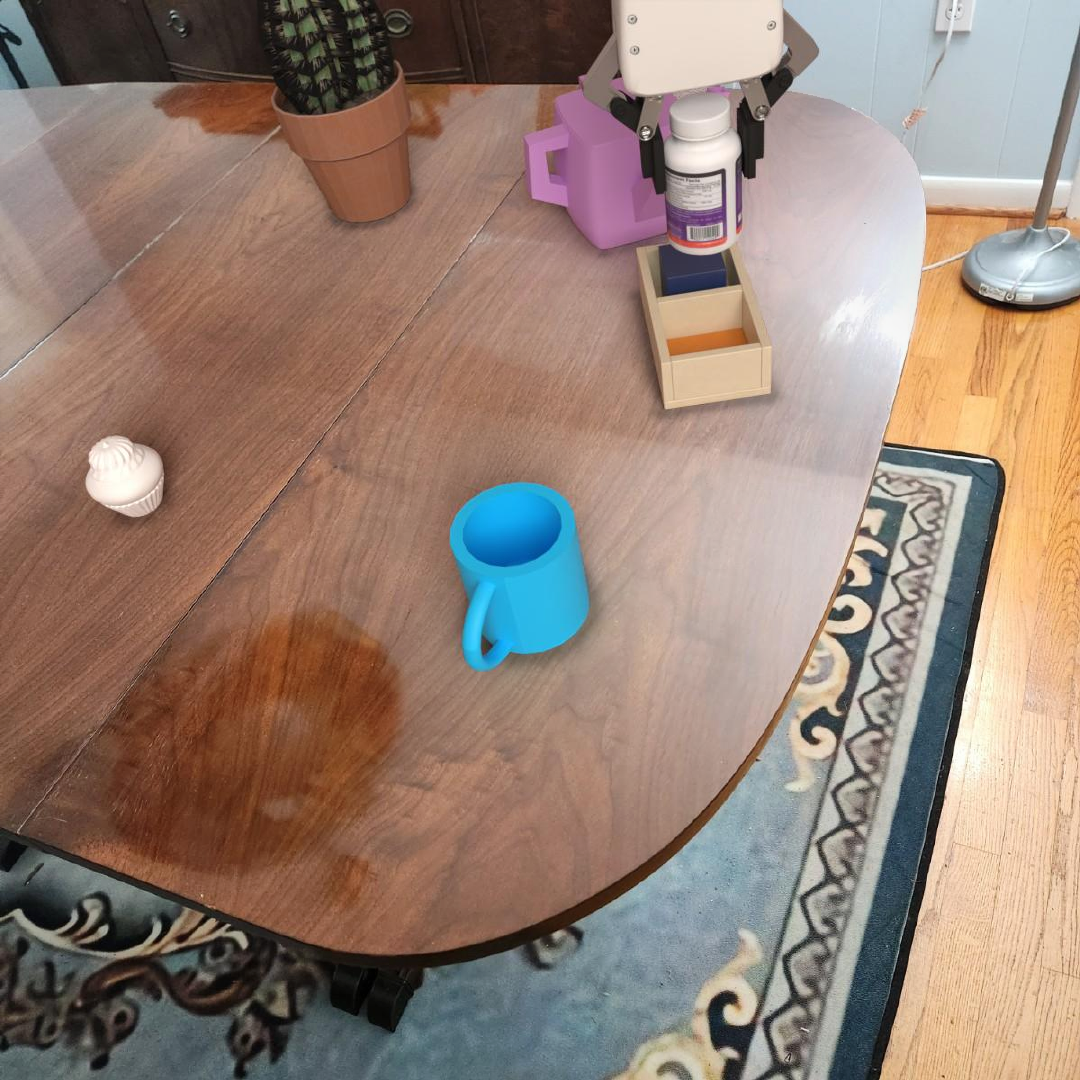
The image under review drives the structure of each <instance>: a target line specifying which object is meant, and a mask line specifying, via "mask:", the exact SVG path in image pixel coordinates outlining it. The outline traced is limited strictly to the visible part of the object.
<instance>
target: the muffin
mask: <svg viewBox="0 0 1080 1080" xmlns="http://www.w3.org/2000/svg"><path fill="white" fill-rule="evenodd" d="M87 457H88V463H89V469H88V471H87V474H86V476H85V488H86V491H87V493H88V495H89V496H90V497H91V498H92V500H95V502H98V503H100V504H101V505H103V506H105V507H106V508H107V509H110V510H113V511H115V512H117V513H119V514H122V515H124V516H128V517H131V518H141V517H144V516H147V515H149V514H151V513H152V512H154V511H156V509H158V507H159V506H160V504H162V501H163V492H164V483H165V482H164V480H165V478H164V477H165V472H164V464H163V460H162V458H161V455H160V453H158V452H157V451H156V450H155V449H153V448H152V447H151V446H148V445H145V444H141V443H136V442H135V443H134V442H133V441H131V439H129V438H128V437H125V436H122V435H117V434H115V435H108V436H106V437H105V438H101V439H100V441H96V442H95V445H92V447H91V448H90V451H89V452H88V456H87Z"/></svg>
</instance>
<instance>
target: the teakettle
mask: <svg viewBox="0 0 1080 1080" xmlns="http://www.w3.org/2000/svg"><path fill="white" fill-rule="evenodd" d="M585 76H586V74H582V75H580V76H579V75H578V86H579V89H576V90H573V91H570V92H566V93H563V94H560V95H558V96H557V97H556V98H555V100H554V106H553V125H552V126H550V127H547V128H544V129H541V130H538V131H534V132H531V133H528V134H525V135H523V136H522V137H523V155H524V167H525V184H526V189H527V191H528V193H529V195H530V197H531V199H533V200H537V201H541V202H545V203H550V204H553V205H558V206H562V207H565V209H566V212H567V213H568V215H569V217H570V219H571V221H572V222H573V224H574V226H575V227H576V228H577V229H578V231H579V232H580V233H581V234H582V235H583V237H584V238H585V239H586V240H587V241H588V242H589V243H590V244H591V245H592V246H593V247H595V248H596V249H598V250H604V251H605V250H611V249H614V248H618V247H622V246H626V245H630V244H633V243H637V242H640V241H644V240H647V239H651V238H654V237H657V236H661V235H663V234H667V223H666V207H665V193H664V194H659V195H656V192H655V188H654V184H653V180H652V178H646V179H644V178H643V175H642V169H641V159H640V147H639V138H638V137H637V134H636V133H635V132H633V131H632V130H630V129H629V128H628V127H626V126H625V125H624V124H622V123H621V122H619V121H618V120H617V119H615V118H614V117H613V116H612V114H611V113H609V112H608V111H606V110H603V109H601V108H600V107H598V106H597V105H595V104H593V103H592V102H590V101H589V100H587V99H586V98H585V97H584V95H583V91H582V86H581V83H582V81H583V79H584V77H585ZM610 85H612V86H613V87H614V88H615V89H617V90H621V91H623V92H624V93H626V94H627V95H628V96H630V97H631V98H632V99H634V100H635V97H636V96H634V95H632V94H629V93H628V92H627V91H626V89H625V87H624V84H623V80H622V76H621V77H618V78H613V79H612V80H611V82H610ZM705 92H712V93H718V94H721V95H723V96H725V97H727V98H728V99H729V96H730V94H731V93H730V91H729V90H728V89H727V88H726V87H725V86H724V85H720V86H713V87H707V88H706V91H705ZM678 99H679V98H677V97H676V96H675V93H673V94H667V95H665V97H664V101H663V104H662V108H661V112H660V116H659V119H658V124H659V127H660V131H661V134H662V137H663V142H665V140H666V139H667V137H668V136H669V135H670V134H672V133H671V130H670V115H669V110H670V107H671V105H672V104H673V103H674V102H675V101H676V100H678ZM548 152H552V156H553V157H552V158H553V170H554V174H552V173H549V168H548V167H549V166H548V160H547V155H546V153H548Z"/></svg>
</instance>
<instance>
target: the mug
mask: <svg viewBox="0 0 1080 1080" xmlns="http://www.w3.org/2000/svg"><path fill="white" fill-rule="evenodd" d="M449 546H450V549H451V552H452V555H453V558H454V561H455V564H456V566H457V569H458V573H459V576H460V578H461V579H460V580H461V582H462V585H463V588H464V591H465V594H466V597H467V600H468V607H467V609H466V614H465V619H464V623H463V628H462V639H461V646H462V654H463V659H464V661H465V662H466V663H467V665H468V666H469V668H470V669H472V670H473V671H477V672H489V671H492V670H493V669H495V668H497V667H498V666H500V665H501V663H502V662H503V661H504V660H505V659H506V658H507V656H509V654H510V653H514V654H521V655H530V654H537V653H543V652H547V651H550V650H551V649H554V648H556V647H559V646H561V645H563V644H564V643H566V642H567V641H568V640H569V639H571V638H572V637H573V636H575V635H577V633H578V631H579V630H580V628H581V627H582V625H583V624H584V623H585V622H586V619H587V616H588V613H589V609H590V606H591V602H590V593H589V586H588V581H587V576H586V572H585V565H584V560H583V555H582V549H581V544H580V538H579V533H578V528H577V522H576V517H575V512H574V510H573V508H572V506H571V505H570V503H569V501H568V499H567V498H565V497H564V496H563V495H562V494H560V493H559V492H558V491H556V490H555V489H553V488H551V487H548V486H546V485H542V484H540V483H533V482H523V481H522V482H521V481H518V482H510V483H503V484H500V485H497V486H494V487H491V488H488V489H486V490H483V491H482V492H479V494H477V495H475V496H474V497H473V498H470V499H469V500H468V501H467V502H466V503H465V504H464V505H463V506H462V508H461V509H460V510H459V511H458V512H457V513H456V514H455V517H454V519H453V522H452V523H451V526H450V528H449ZM482 636H483V637H484V638H485V639H486V640H487V642H489V643H490V644H491V645H492V647H491V648H490V649H489V650H488V651H487V652H486V653H485V654H484V655H483V654H482Z"/></svg>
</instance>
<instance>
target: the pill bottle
mask: <svg viewBox="0 0 1080 1080" xmlns="http://www.w3.org/2000/svg"><path fill="white" fill-rule="evenodd" d="M677 99H678V100H676V101H675V102H674V103H673V104H672V105H671V107H670V110H669V115H670V130H671V133H672V134H670V135H669V136H668V137H667V139H666V140H665V142H664V156H665V172H666V188H667V191H665V192H664V193H665V207H666V223H667V233H666V234H667V239H668V243H670V244H671V245H672V246H673V247H674V248H675V249H677V250H679V251H681V252H683V253H686V254H691V255H711V254H715V253H719V252H721V251H724V250H726V249H728V248H730V247H731V246H732V245H734V244H735V243H736V242H737V243H738V241H739V240H740V238H741V236H742V233H743V173H742V146H741V139H740V137H739V135H738V134H737V130H735V129H734V128H733V127H731V125H732V111H731V109H732V108H731V101H730V99H729V97H728V98H727V97H725V96H723V95H721V94H718V93H712V92H706V91H704V92H703V91H702V92H695V93H690V94H687V95H685V96H682V97H680V98H677Z"/></svg>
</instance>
